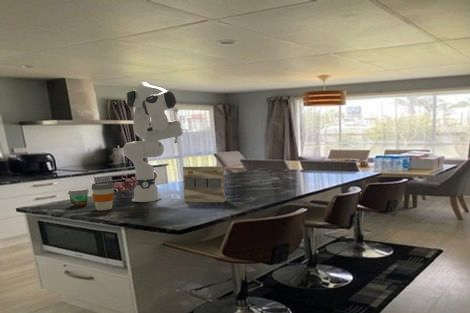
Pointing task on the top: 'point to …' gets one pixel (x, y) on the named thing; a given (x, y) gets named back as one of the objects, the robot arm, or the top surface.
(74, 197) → the food container
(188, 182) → the key
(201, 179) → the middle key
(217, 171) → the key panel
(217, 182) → the key
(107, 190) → the reusable coffee cup
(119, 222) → the top surface
